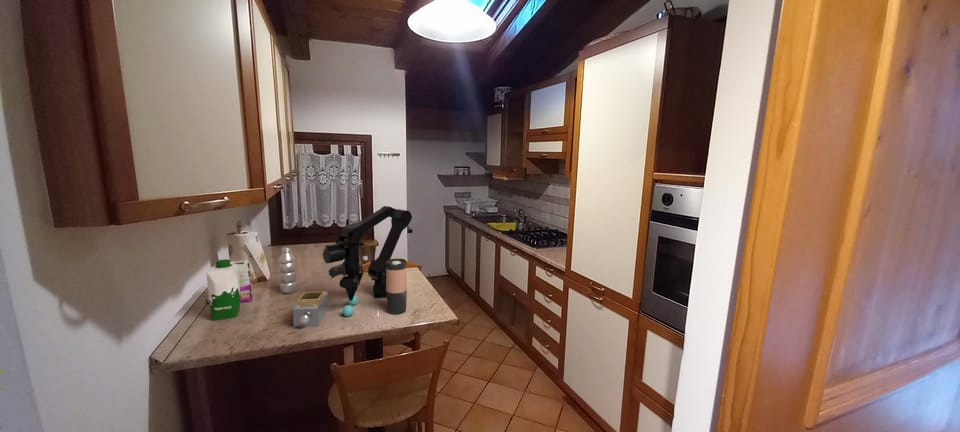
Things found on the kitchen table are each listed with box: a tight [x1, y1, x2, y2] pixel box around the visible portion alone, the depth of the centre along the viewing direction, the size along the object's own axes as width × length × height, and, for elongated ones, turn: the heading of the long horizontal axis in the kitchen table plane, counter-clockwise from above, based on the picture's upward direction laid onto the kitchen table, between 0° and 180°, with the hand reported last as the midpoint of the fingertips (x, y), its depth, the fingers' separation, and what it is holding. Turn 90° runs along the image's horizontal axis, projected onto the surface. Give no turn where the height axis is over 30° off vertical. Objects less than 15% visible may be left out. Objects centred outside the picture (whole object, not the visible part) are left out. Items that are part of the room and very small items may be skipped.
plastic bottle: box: [278, 245, 298, 294], centre depth 145 cm, size 6×7×20 cm
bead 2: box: [347, 294, 359, 306], centre depth 135 cm, size 4×4×4 cm
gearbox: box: [292, 290, 330, 328], centre depth 121 cm, size 8×16×8 cm, turn 11°
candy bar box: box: [214, 259, 254, 303], centre depth 134 cm, size 11×5×16 cm, turn 123°
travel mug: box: [386, 258, 408, 316], centre depth 129 cm, size 8×8×20 cm
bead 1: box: [341, 304, 355, 317], centre depth 125 cm, size 4×4×4 cm
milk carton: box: [206, 258, 241, 321], centre depth 122 cm, size 9×9×20 cm
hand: (353, 295), depth 135 cm, fingers open, 9 cm apart
